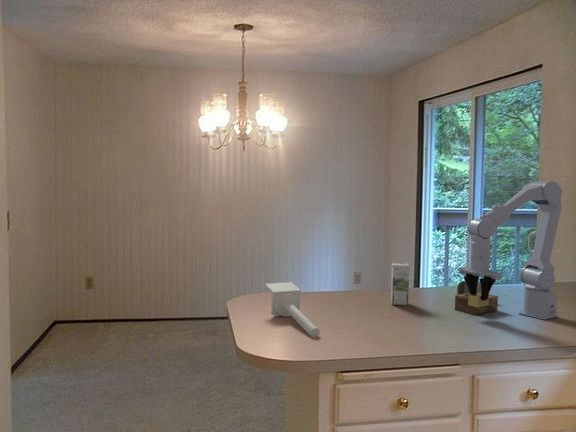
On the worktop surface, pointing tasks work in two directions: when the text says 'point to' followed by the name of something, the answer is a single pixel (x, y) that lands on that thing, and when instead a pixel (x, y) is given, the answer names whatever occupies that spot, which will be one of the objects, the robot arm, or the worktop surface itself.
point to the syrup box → (399, 284)
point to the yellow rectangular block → (477, 300)
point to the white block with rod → (290, 305)
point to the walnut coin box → (462, 305)
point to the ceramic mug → (466, 288)
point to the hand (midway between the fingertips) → (478, 298)
